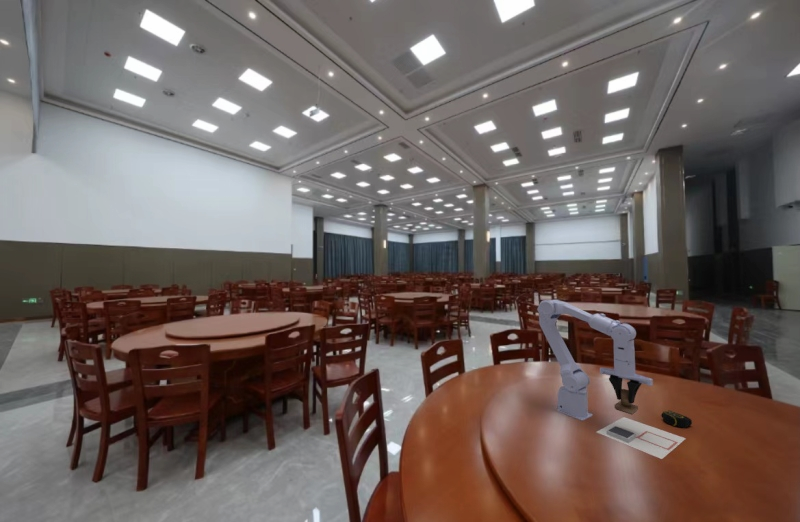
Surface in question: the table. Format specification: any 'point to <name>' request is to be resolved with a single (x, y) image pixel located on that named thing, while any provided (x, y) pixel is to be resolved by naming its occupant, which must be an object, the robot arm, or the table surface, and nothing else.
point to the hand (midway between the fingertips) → (625, 400)
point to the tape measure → (676, 419)
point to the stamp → (625, 403)
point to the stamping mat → (642, 437)
